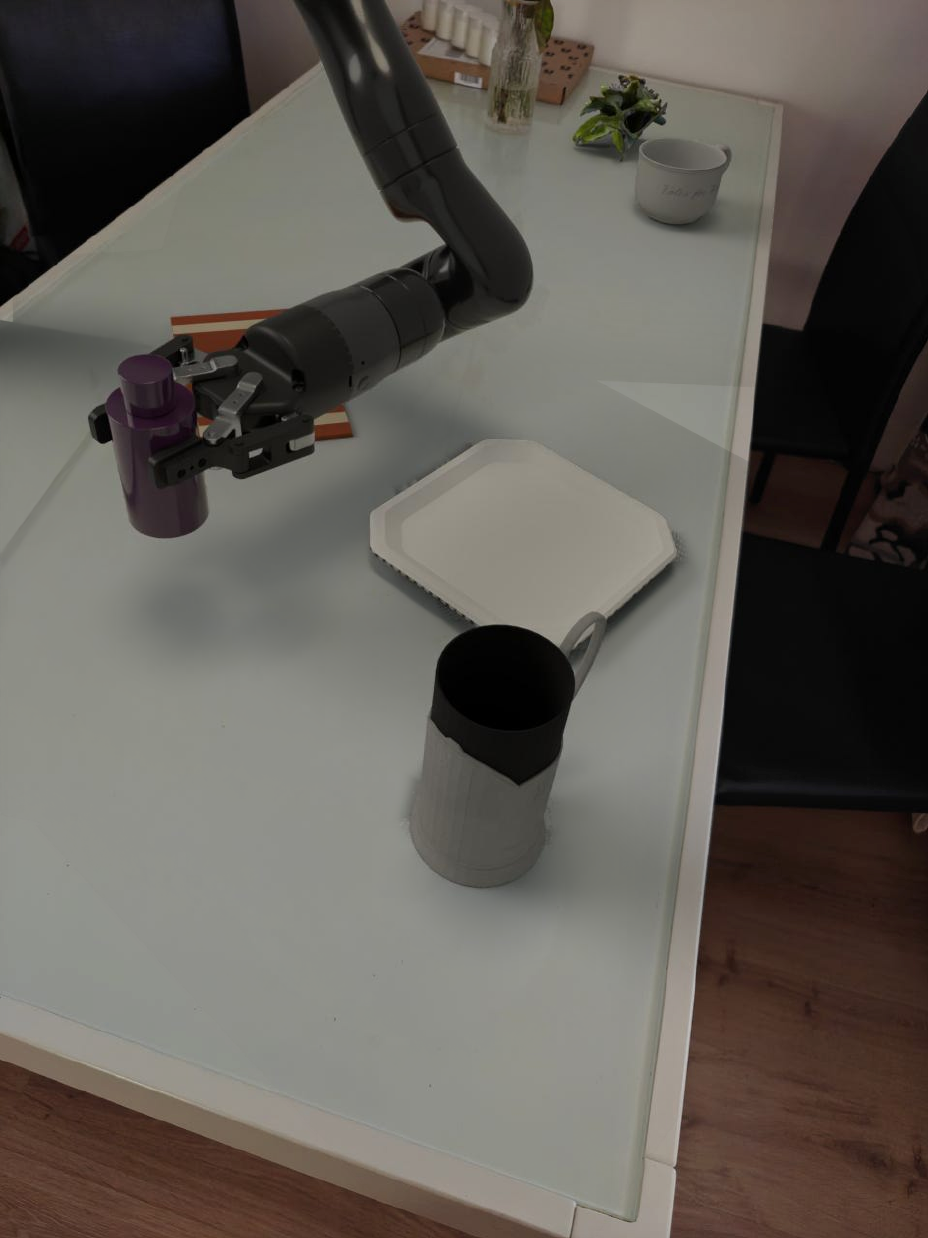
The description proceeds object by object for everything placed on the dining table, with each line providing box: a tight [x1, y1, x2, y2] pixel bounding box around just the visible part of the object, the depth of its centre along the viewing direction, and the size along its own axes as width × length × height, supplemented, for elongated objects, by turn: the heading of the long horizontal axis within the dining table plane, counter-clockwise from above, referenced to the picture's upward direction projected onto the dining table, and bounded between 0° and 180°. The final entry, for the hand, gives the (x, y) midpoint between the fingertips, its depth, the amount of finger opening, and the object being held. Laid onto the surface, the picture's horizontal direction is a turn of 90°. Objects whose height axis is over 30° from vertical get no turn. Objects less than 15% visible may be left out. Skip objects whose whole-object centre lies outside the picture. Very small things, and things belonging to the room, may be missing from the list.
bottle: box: [105, 353, 210, 540], centre depth 64 cm, size 5×5×12 cm
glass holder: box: [409, 611, 608, 888], centre depth 60 cm, size 9×14×15 cm, turn 138°
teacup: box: [634, 136, 733, 225], centre depth 125 cm, size 14×11×8 cm
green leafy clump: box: [572, 74, 668, 162], centre depth 138 cm, size 11×11×12 cm
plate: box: [369, 438, 678, 651], centre depth 81 cm, size 21×21×2 cm
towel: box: [170, 308, 354, 441], centre depth 95 cm, size 22×14×1 cm, turn 17°
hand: (122, 451), depth 62 cm, fingers closed on bottle, 5 cm apart
